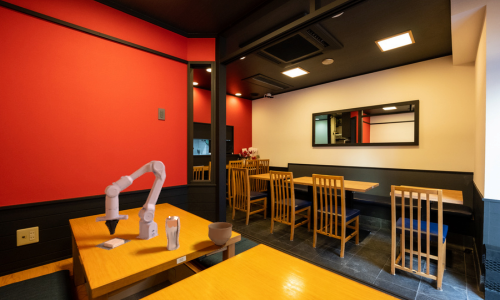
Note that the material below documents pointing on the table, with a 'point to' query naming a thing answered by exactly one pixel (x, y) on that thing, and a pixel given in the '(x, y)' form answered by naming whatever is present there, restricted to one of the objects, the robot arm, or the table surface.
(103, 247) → the mat
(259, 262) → the table surface
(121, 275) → the table surface
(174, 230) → the beer glass
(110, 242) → the block
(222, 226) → the bowl
